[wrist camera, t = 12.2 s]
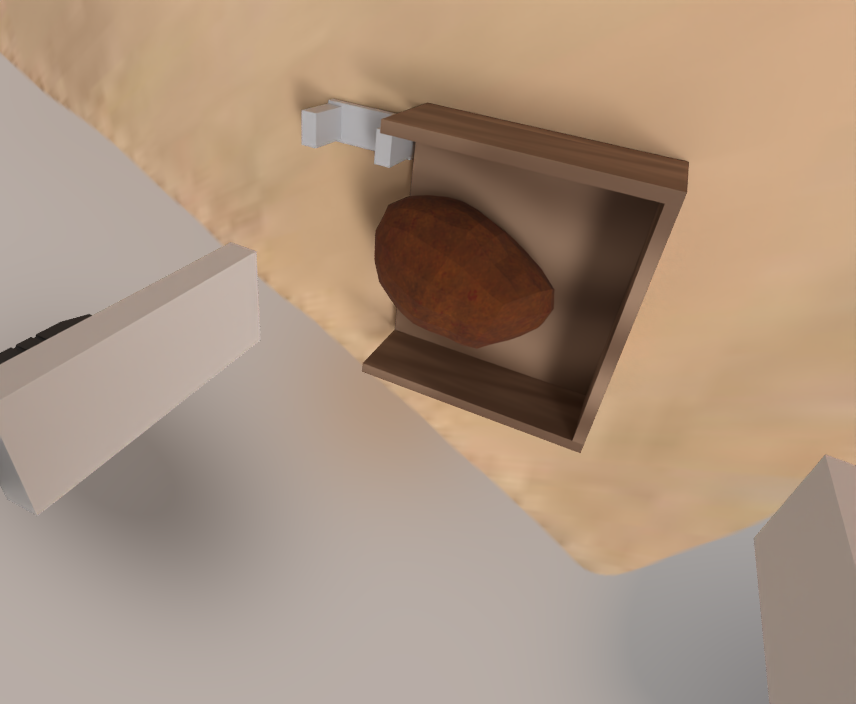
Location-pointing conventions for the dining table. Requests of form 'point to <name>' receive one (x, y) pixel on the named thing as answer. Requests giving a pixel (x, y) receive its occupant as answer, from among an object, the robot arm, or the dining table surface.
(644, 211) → the holder
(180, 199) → the dining table surface
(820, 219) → the dining table surface
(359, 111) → the clip
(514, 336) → the potato
